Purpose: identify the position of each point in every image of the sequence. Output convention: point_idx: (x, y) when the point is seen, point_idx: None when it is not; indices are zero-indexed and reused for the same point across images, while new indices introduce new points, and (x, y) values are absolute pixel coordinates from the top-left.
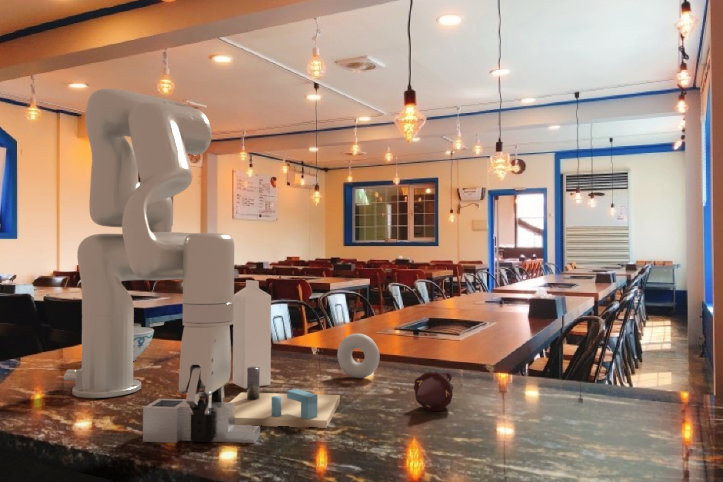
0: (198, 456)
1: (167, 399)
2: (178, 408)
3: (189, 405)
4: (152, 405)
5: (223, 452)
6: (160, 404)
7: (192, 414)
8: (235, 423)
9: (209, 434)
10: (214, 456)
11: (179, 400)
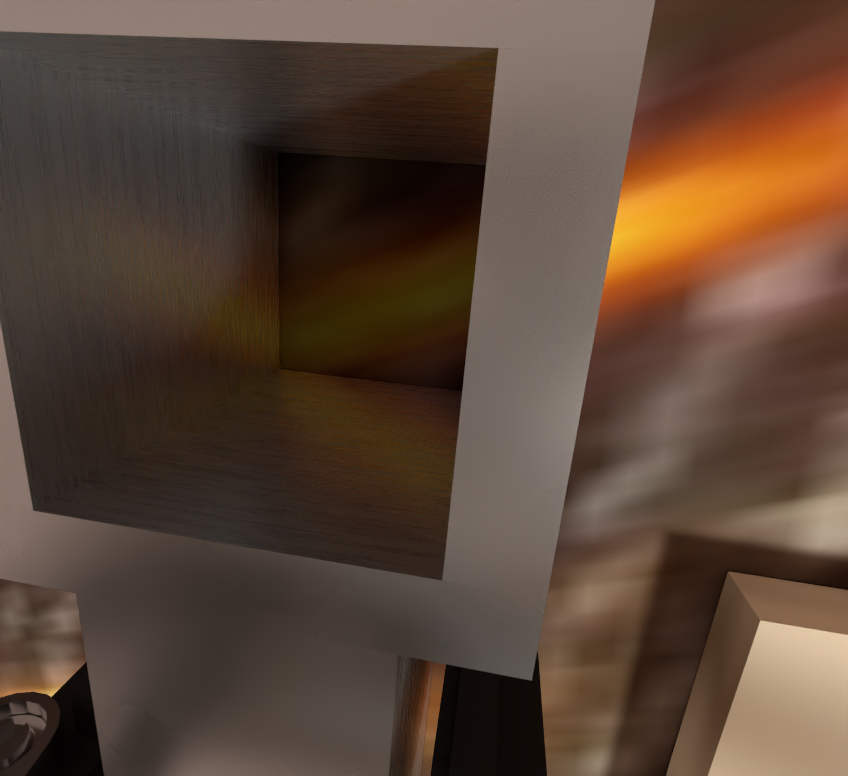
0: (49, 590)
1: (544, 200)
2: (27, 575)
3: (155, 706)
4: (15, 35)
5: None
6: (442, 78)
7: (4, 717)
8: (678, 755)
9: None
10: (70, 666)
11: (460, 497)
